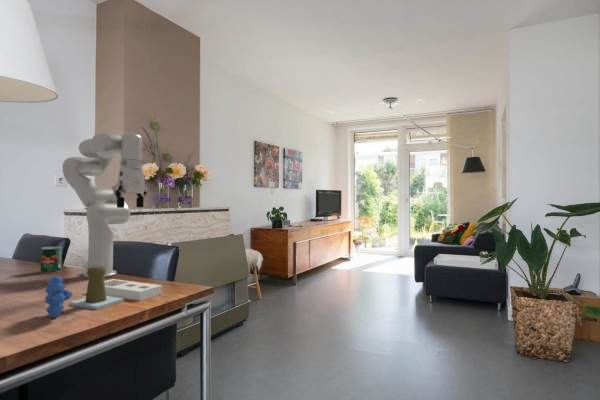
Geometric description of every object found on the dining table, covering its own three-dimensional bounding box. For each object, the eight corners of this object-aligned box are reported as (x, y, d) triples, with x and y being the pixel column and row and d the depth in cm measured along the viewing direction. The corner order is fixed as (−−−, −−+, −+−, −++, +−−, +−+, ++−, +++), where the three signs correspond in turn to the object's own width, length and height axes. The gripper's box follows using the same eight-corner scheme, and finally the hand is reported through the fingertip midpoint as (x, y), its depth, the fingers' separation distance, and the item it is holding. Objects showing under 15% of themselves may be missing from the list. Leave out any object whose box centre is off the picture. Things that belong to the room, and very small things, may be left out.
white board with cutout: (88, 292, 130) (88, 284, 130) (112, 286, 139) (112, 278, 139) (140, 300, 121) (140, 291, 121) (161, 293, 131) (162, 285, 131)
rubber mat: (69, 305, 115) (69, 301, 115) (97, 297, 124) (97, 294, 124) (96, 309, 111) (97, 306, 111) (123, 301, 120) (123, 298, 120)
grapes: (77, 319, 102) (78, 276, 102) (49, 324, 97) (49, 279, 97) (67, 309, 110) (67, 270, 110) (40, 314, 106) (40, 273, 106)
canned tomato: (41, 274, 160) (41, 249, 160) (39, 271, 166) (39, 247, 166) (62, 272, 165) (63, 247, 165) (60, 269, 171) (60, 246, 171)
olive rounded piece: (96, 303, 114) (97, 268, 114) (80, 302, 115) (81, 267, 115) (110, 298, 120) (111, 265, 120) (95, 297, 121) (95, 264, 121)
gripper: (120, 162, 137) (119, 207, 137) (154, 166, 154) (153, 207, 154) (105, 163, 140) (105, 207, 140) (140, 167, 156) (140, 206, 156)
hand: (130, 207), depth 147 cm, fingers open, 9 cm apart
